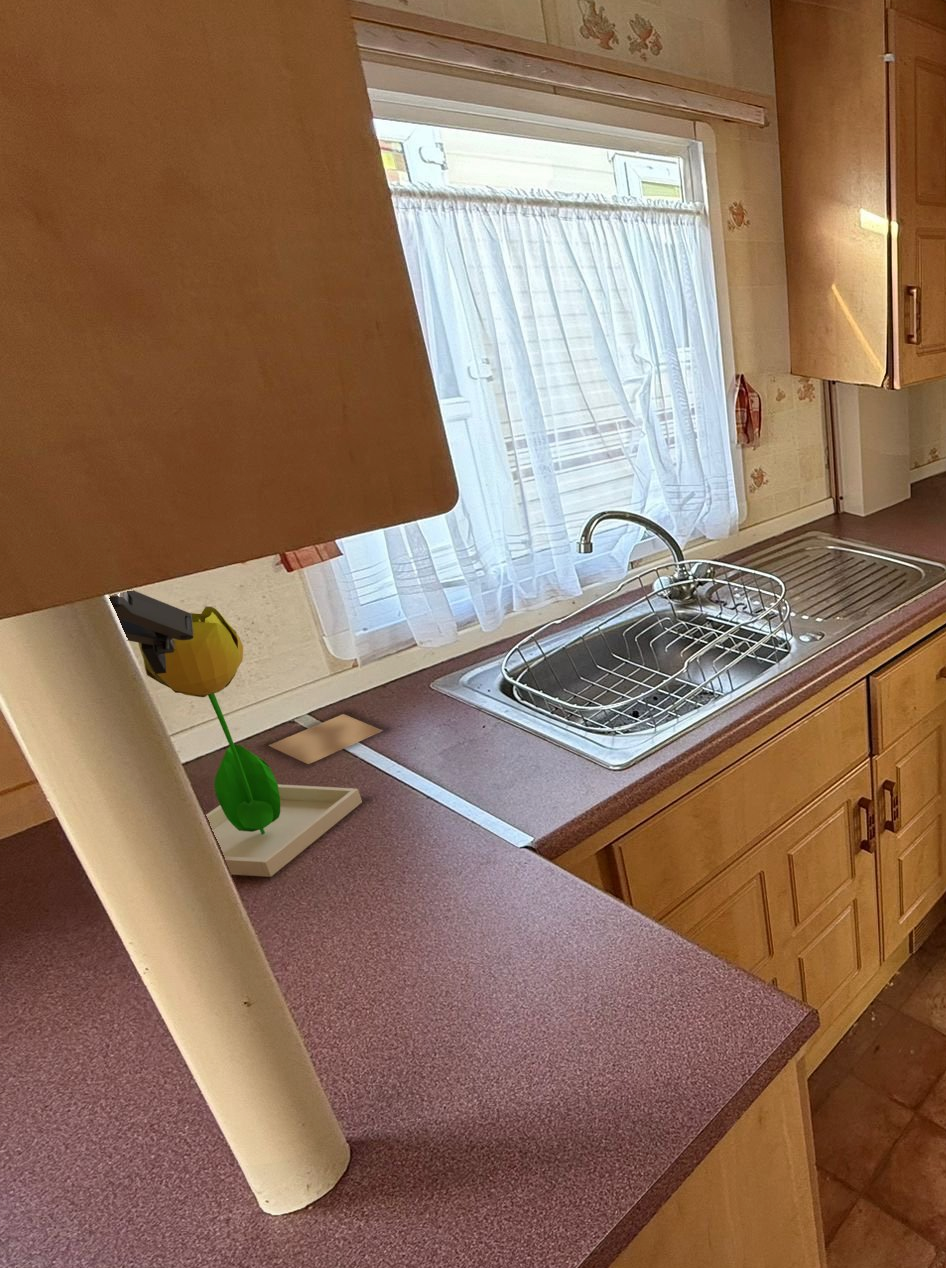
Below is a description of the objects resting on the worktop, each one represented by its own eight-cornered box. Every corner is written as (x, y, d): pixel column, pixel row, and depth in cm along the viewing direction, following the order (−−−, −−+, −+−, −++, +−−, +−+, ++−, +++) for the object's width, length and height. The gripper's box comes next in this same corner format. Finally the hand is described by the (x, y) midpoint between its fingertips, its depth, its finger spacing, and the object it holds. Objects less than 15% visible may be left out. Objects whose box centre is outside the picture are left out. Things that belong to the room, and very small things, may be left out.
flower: (307, 837, 105) (228, 618, 94) (220, 865, 100) (125, 638, 89) (301, 803, 111) (226, 594, 100) (219, 828, 106) (130, 611, 95)
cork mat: (309, 767, 119) (308, 764, 119) (268, 748, 123) (267, 745, 123) (384, 733, 128) (383, 730, 128) (344, 716, 132) (343, 713, 131)
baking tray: (153, 873, 100) (145, 855, 99) (258, 798, 113) (252, 782, 112) (272, 879, 99) (265, 862, 98) (363, 804, 112) (358, 788, 111)
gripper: (-308, 639, 57) (-158, 736, 72) (206, 599, 72) (239, 685, 88) (-298, 540, 59) (-154, 655, 74) (200, 522, 74) (233, 620, 90)
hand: (59, 672), depth 81 cm, fingers open, 13 cm apart
